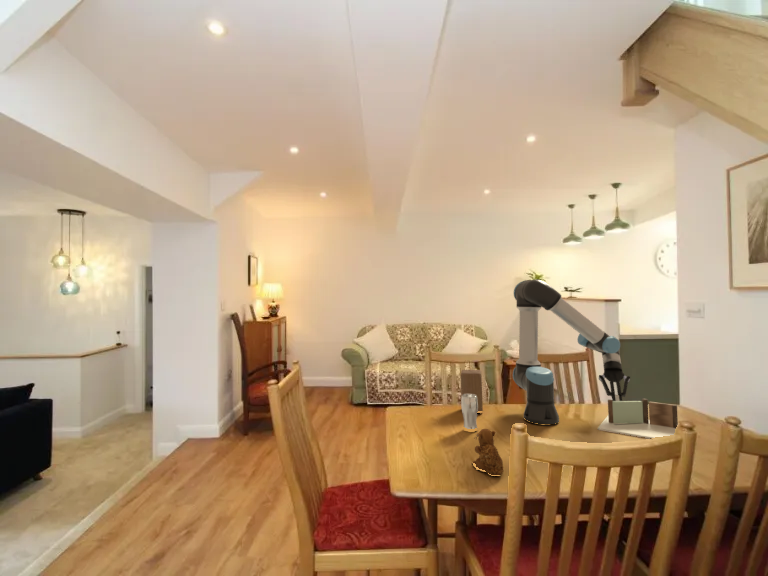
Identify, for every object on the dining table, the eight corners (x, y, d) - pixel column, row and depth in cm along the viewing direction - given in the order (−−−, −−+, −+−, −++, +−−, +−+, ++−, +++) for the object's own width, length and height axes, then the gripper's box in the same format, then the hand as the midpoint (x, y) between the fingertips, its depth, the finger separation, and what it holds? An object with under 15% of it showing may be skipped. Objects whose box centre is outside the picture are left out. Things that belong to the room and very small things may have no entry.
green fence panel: (609, 422, 169) (608, 400, 169) (607, 421, 171) (607, 399, 171) (643, 422, 168) (642, 400, 168) (641, 421, 169) (640, 399, 170)
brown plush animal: (498, 461, 136) (497, 424, 137) (512, 481, 122) (510, 438, 123) (470, 463, 136) (468, 425, 136) (480, 482, 122) (479, 440, 122)
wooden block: (461, 413, 192) (460, 373, 192) (462, 408, 201) (461, 369, 202) (482, 414, 189) (481, 373, 190) (482, 408, 199) (481, 369, 199)
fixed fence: (642, 425, 168) (641, 399, 168) (643, 423, 170) (642, 398, 170) (677, 430, 160) (676, 403, 161) (678, 429, 162) (677, 402, 162)
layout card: (597, 429, 164) (597, 427, 164) (609, 415, 183) (609, 413, 183) (677, 443, 147) (677, 441, 147) (681, 426, 165) (681, 424, 165)
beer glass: (465, 426, 173) (464, 392, 173) (480, 429, 170) (479, 394, 170) (459, 431, 167) (458, 396, 167) (475, 434, 164) (474, 398, 164)
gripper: (627, 369, 187) (635, 415, 171) (596, 368, 192) (601, 412, 177) (628, 360, 182) (636, 406, 166) (597, 359, 187) (601, 403, 172)
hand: (618, 409), depth 171 cm, fingers closed
